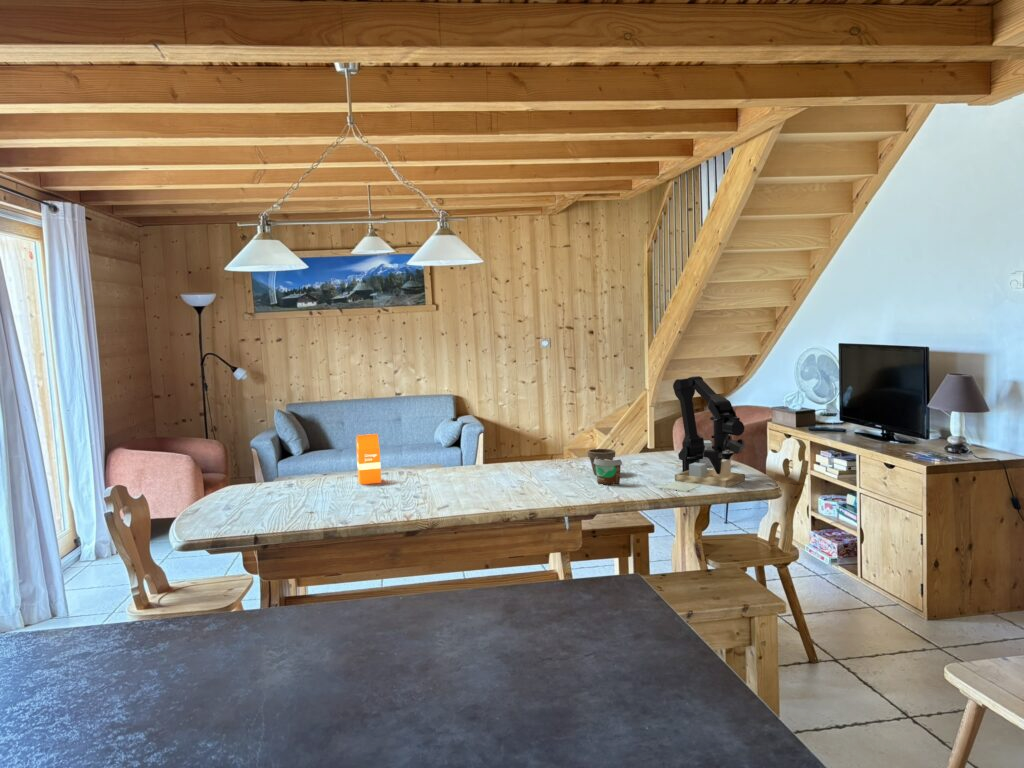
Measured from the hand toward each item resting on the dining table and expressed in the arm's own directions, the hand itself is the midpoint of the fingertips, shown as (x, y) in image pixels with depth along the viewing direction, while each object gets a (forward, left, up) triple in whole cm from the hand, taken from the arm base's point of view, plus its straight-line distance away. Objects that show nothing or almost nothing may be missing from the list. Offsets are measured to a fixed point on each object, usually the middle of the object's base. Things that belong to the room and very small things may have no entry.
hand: (721, 472), depth 292 cm
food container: (-37, -25, -4) cm, 45 cm away
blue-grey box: (-10, 0, -4) cm, 11 cm away
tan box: (0, 0, -1) cm, 1 cm away
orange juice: (-123, -74, -4) cm, 144 cm away
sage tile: (-9, -15, -4) cm, 18 cm away
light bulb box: (-24, +27, -4) cm, 36 cm away
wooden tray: (-5, 0, -4) cm, 7 cm away
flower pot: (-49, -10, -4) cm, 50 cm away
